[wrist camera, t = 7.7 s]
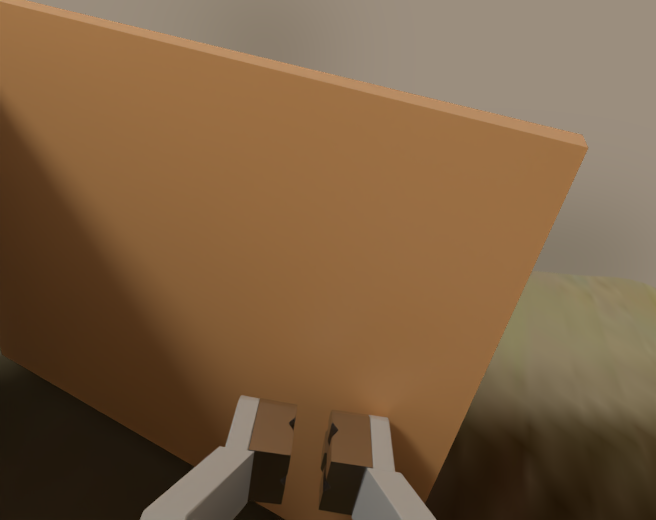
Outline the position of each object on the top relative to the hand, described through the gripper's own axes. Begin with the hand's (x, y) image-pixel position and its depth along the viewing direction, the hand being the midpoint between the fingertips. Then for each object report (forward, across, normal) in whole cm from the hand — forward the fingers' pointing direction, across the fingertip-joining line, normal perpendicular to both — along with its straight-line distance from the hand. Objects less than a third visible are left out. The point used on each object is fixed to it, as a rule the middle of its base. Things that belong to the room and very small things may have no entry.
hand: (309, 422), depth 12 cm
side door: (+4, +4, +6) cm, 8 cm away
